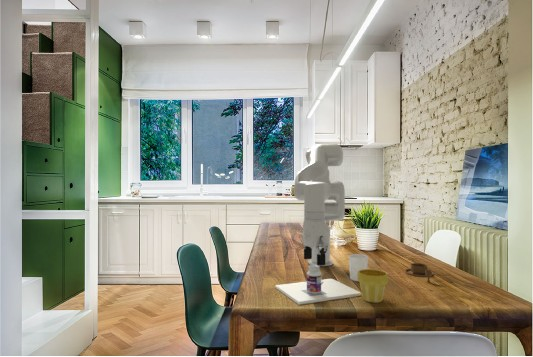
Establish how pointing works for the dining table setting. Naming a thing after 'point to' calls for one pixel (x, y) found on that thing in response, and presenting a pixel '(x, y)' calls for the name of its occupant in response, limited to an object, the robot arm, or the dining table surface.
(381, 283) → the plant pot
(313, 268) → the pill bottle
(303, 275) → the dining table surface
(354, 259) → the white cup
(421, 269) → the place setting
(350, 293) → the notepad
